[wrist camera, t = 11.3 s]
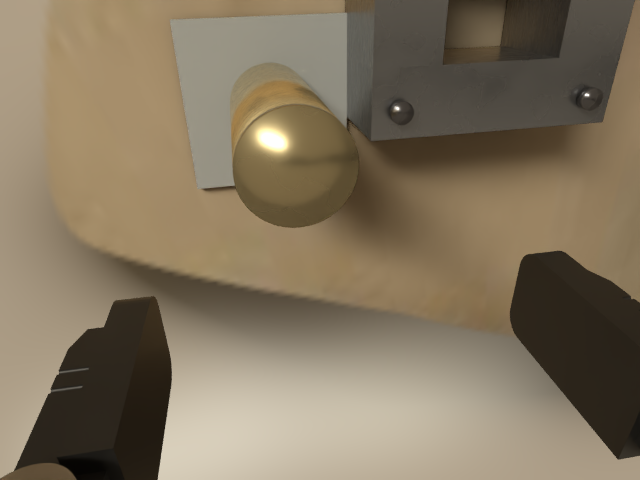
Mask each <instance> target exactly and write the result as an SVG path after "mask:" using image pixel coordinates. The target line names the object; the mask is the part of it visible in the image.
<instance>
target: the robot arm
mask: <svg viewBox="0 0 640 480" xmlns="http://www.w3.org/2000/svg"><path fill="white" fill-rule="evenodd" d="M510 321H511V325H512V328H513V331H514V333H515V335H516V336H517V338H518V339H519V340H520V341H521V343H522V344H523V345H524V346H525V347H526V348H527V350H528V351H529V352H530V353H531V355H532V356H533V357H534V358H535V360H536V361H537V362H538V363H539V364H540V366H541V367H542V368H543V369H544V370H545V372H546V373H547V374H548V375H549V376H550V378H551V379H552V380H553V381H554V382H555V383H556V385H557V386H558V387H559V388H560V390H561V391H562V392H563V393H564V395H565V396H566V397H567V398H568V399H569V401H570V402H571V403H572V404H573V406H574V407H575V408H576V409H577V410H578V412H579V413H580V414H581V415H582V416H583V418H584V419H585V420H586V421H587V422H588V424H589V425H590V426H591V427H592V428H593V430H594V431H595V432H596V433H597V435H598V436H599V437H600V438H601V439H602V441H603V442H604V443H605V444H606V446H607V447H608V448H609V449H610V450H611V452H612V453H613V454H614V455H615V456H616V458H617V459H624V458H629V457H635V456H640V303H639V302H638V301H636V300H635V299H631V296H630V295H629V294H627V293H626V292H625V291H623V290H622V289H621V288H619V287H618V286H617V285H615V284H614V283H613V282H612V281H610V280H607V279H605V278H603V277H601V276H599V275H597V274H595V273H592V272H590V271H588V270H587V269H585V268H584V267H583V266H582V265H580V264H579V263H578V262H577V261H575V260H574V259H573V258H571V257H570V256H569V255H568V254H566V253H565V252H562V251H553V252H544V253H535V254H528V255H526V256H524V257H523V259H522V261H521V263H520V267H519V272H518V276H517V281H516V285H515V290H514V295H513V299H512V304H511V308H510ZM171 381H172V369H171V358H170V352H169V348H168V344H167V340H166V336H165V331H164V327H163V323H162V318H161V314H160V310H159V306H158V303H157V300H156V298H155V297H154V296H151V297H143V298H133V299H125V300H116V301H115V302H114V303H113V305H112V307H111V310H110V313H109V315H108V318H107V321H106V323H105V326H104V327H103V328H95V329H88V330H87V331H86V332H85V333H84V334H83V335H82V336H81V337H80V338H79V339H78V340H77V341H76V342H75V343H74V344H73V345H72V346H71V347H70V348H69V349H68V351H67V354H66V356H65V358H64V360H63V362H62V365H61V367H60V369H59V375H57V376H56V378H55V380H54V382H53V385H52V387H51V393H50V394H48V396H47V398H46V400H45V403H44V405H43V407H42V409H41V412H40V414H39V416H38V419H37V421H36V423H35V425H34V428H33V430H32V432H31V434H30V436H29V439H28V441H27V443H26V445H25V448H24V450H23V452H22V454H21V457H20V459H19V461H18V463H17V466H16V468H15V470H14V471H13V472H11V473H9V474H7V475H5V476H4V477H2V478H0V480H157V479H158V472H159V466H160V459H161V452H162V444H163V438H164V430H165V424H166V417H167V410H168V404H169V397H170V389H171Z"/></svg>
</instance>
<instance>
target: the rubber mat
mask: <svg viewBox="0 0 640 480" xmlns="http://www.w3.org/2000/svg"><path fill="white" fill-rule="evenodd" d="M170 24H171V30H172V36H173V42H174V49H175V55H176V61H177V67H178V73H179V79H180V85H181V91H182V97H183V103H184V109H185V115H186V121H187V127H188V133H189V139H190V146H191V152H192V158H193V164H194V170H195V176H196V182H197V188H198V189H203V188H214V187H225V186H235V184H234V179H233V168H232V144H231V120H230V96H231V91H232V89H233V86H234V84H235V82H236V81H237V79H238V78H239V77H240V76H241V75H242V73H244V72H245V71H246V70H247V69H249V68H251V67H253V66H255V65H258V64H261V63H278V64H282V65H285V66H287V67H289V68H291V69H292V70H294V71H295V72H296V73H297V74H298V75H299V76H300V77H301V78H302V79H303V80H304V81H305V82H306V83H307V85H308V86H309V87H310V88H311V89H312V90H313V91H314V92H315V94H316V95H317V96H318V97H319V98H320V99H321V100H322V102H323V103H324V104H325V105H326V106H327V107H328V108H329V109H330V111H331V112H332V113H333V114H334V115H335V116H336V117H337V118H338V120H339V121H340V122H341V123H342V124H343V125H344V126H345V127H346V129H347V13H325V14H299V15H274V16H248V17H223V18H197V19H172V20H170Z"/></svg>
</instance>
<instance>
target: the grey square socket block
mask: <svg viewBox="0 0 640 480" xmlns="http://www.w3.org/2000/svg"><path fill="white" fill-rule="evenodd" d="M634 1H635V0H507V6H506V13H505V20H504V26H503V33H502V40H501V46H495V47H476V48H457V49H444V44H445V33H446V23H447V12H448V2H449V0H345V13H347V117H348V118H349V119H350V120H351V121H352V122H353V123H354V124H355V125H356V126H357V127H358V128H359V130H360V131H361V132H362V133H363V134H364V135H365V136H366V137H367V138H368V139H369V140H370V141H379V140H391V139H403V138H415V137H428V136H440V135H452V134H464V133H476V132H489V131H501V130H513V129H525V128H537V127H549V126H562V125H574V124H586V123H598V122H603V118H604V114H605V110H606V107H607V103H608V99H609V95H610V92H611V88H612V84H613V80H614V77H615V73H616V69H617V65H618V61H619V58H620V54H621V50H622V46H623V43H624V39H625V35H626V31H627V28H628V24H629V20H630V16H631V13H632V9H633V5H634Z"/></svg>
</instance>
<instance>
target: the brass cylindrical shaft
mask: <svg viewBox="0 0 640 480" xmlns="http://www.w3.org/2000/svg"><path fill="white" fill-rule="evenodd" d="M230 120H231V144H232V168H233V179H234V184H235V187H236V190H237V192H238V194H239V196H240V198H241V200H242V201H243V203H244V204H245V206H246V207H247V208H248V209H249V210H250V211H251V212H252V213H254V214H255V215H256V216H257V217H259V218H261V219H262V220H264V221H266V222H268V223H271V224H274V225H277V226H282V227H290V228H296V227H305V226H310V225H313V224H316V223H319V222H321V221H323V220H325V219H327V218H329V217H330V216H332V215H333V214H334V213H336V212H337V211H338V210H339V209H340V208H341V207H342V206H343V205H344V204H345V202H346V201H347V200H348V198H349V197H350V195H351V193H352V191H353V189H354V187H355V184H356V181H357V177H358V171H359V157H358V152H357V148H356V145H355V142H354V140H353V138H352V136H351V134H350V133H349V131H348V130H347V129H346V127H345V126H344V125H343V124H342V123H341V122H340V121H339V120H338V118H337V117H336V116H335V115H334V114H333V113H332V112H331V111H330V109H329V108H328V107H327V106H326V105H325V104H324V103H323V102H322V100H321V99H320V98H319V97H318V96H317V95H316V94H315V92H314V91H313V90H312V89H311V88H310V87H309V86H308V85H307V83H306V82H305V81H304V80H303V79H302V78H301V77H300V76H299V75H298V74H297V73H296V72H295V71H294V70H292V69H291V68H289V67H287V66H285V65H282V64H278V63H261V64H258V65H255V66H253V67H251V68H249V69H247V70H246V71H245V72H244V73H242V75H241V76H240V77H239V78H238V79H237V81H236V82H235V84H234V86H233V89H232V91H231V96H230Z"/></svg>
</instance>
